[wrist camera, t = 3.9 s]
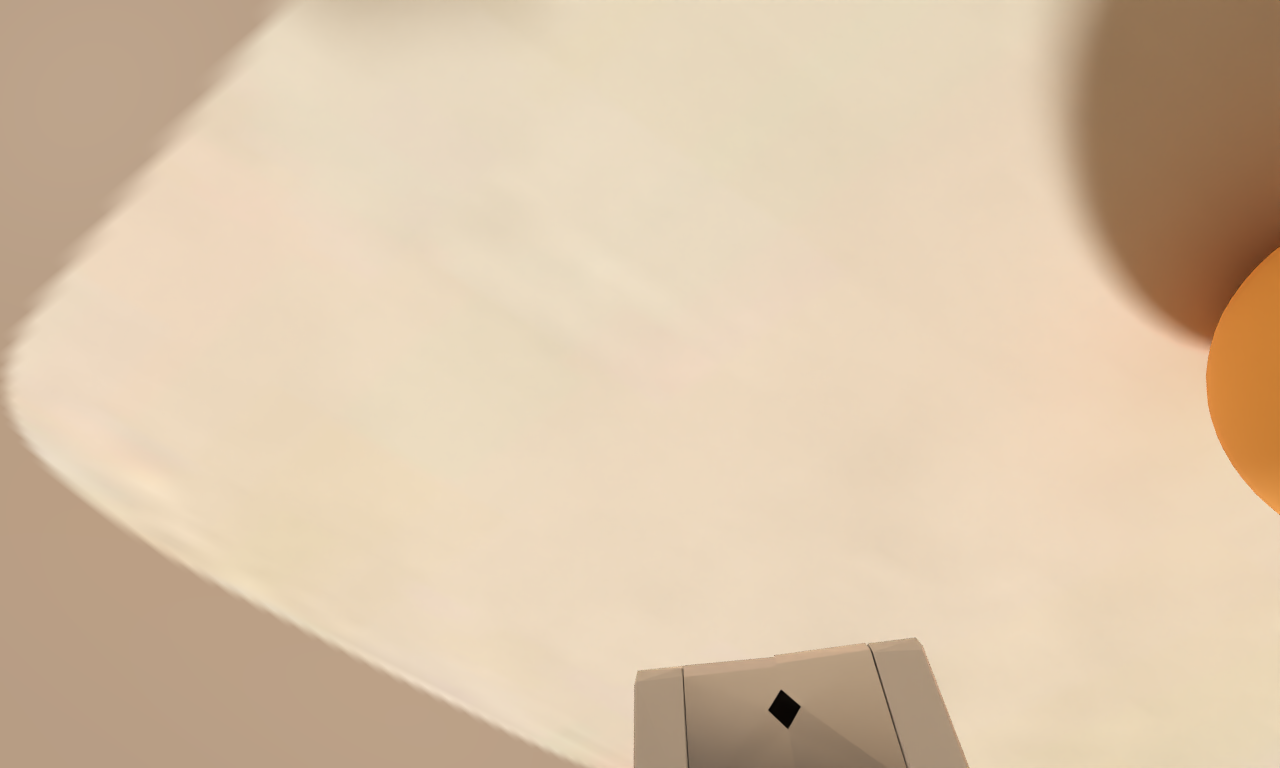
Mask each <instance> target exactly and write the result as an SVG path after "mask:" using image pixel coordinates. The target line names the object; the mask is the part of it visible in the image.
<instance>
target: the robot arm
mask: <svg viewBox="0 0 1280 768" xmlns="http://www.w3.org/2000/svg"><path fill="white" fill-rule="evenodd" d="M634 768H969V766H968V763H967V760H966V758H965V755H964V753H963V750H962V747H961V745H960V742H959V740H958V737H957V734H956V732H955V729H954V727H953V724H952V721H951V719H950V716H949V713H948V711H947V708H946V706H945V703H944V700H943V698H942V695H941V693H940V690H939V687H938V685H937V682H936V680H935V677H934V674H933V672H932V669H931V666H930V664H929V661H928V659H927V656H926V653H925V651H924V648H923V646H922V644H921V643H920V642H919V641H918V640H917V639H916V638H909V639H901V640H893V641H884V642H876V643H869V644H868V645H866V643H861V644H853V645H846V646H839V647H831V648H824V649H817V650H809V651H802V652H795V653H787V654H780V655H774V657H769V658H758V659H748V660H737V661H727V662H716V663H706V664H695V665H685V666H678V667H669V668H659V669H650V670H641V671H638V672H637V676H636V681H635V685H634Z"/></svg>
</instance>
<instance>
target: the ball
mask: <svg viewBox="0 0 1280 768" xmlns="http://www.w3.org/2000/svg"><path fill="white" fill-rule="evenodd" d="M1206 383H1207V398H1208V406H1209V411H1210V415H1211V419H1212V422H1213V425H1214V428H1215V431H1216V434H1217V437H1218V439H1219V441H1220V443H1221V445H1222V447H1223V450H1224V451H1225V453H1226V455H1227V456H1228V458H1229V460H1230V462H1231V463H1232V465H1233V466H1234V468H1235V469H1236V470H1237V472H1238V473H1239V474H1240V476H1241V477H1242V479H1243V480H1244V481H1245V482H1246V483H1247V484H1248V486H1249V487H1250V488H1251V489H1252V490H1253V491H1254V492H1255V494H1256V495H1258V496H1259V497H1260V498H1261V499H1262V500H1263V501H1264V502H1265V503H1266V504H1267V505H1269V506H1270V507H1271V508H1272V509H1273V510H1274V511H1276V512H1277V513H1278V514H1279V515H1280V247H1278V248H1277V249H1276V250H1275V251H1273V252H1272V253H1271V254H1270V255H1269V256H1268V257H1267V258H1266V259H1264V260H1263V261H1262V262H1261V263H1260V264H1259V265H1258V266H1257V267H1256V268H1255V269H1254V270H1253V271H1252V273H1251V274H1250V275H1249V276H1248V277H1247V278H1246V279H1245V281H1244V282H1243V283H1242V284H1241V286H1240V287H1239V289H1238V290H1237V291H1236V293H1235V294H1234V295H1233V297H1232V298H1231V300H1230V301H1229V303H1228V305H1227V307H1226V308H1225V310H1224V312H1223V314H1222V315H1221V318H1220V320H1219V323H1218V325H1217V327H1216V330H1215V332H1214V336H1213V339H1212V343H1211V347H1210V351H1209V356H1208V363H1207V372H1206Z"/></svg>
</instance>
